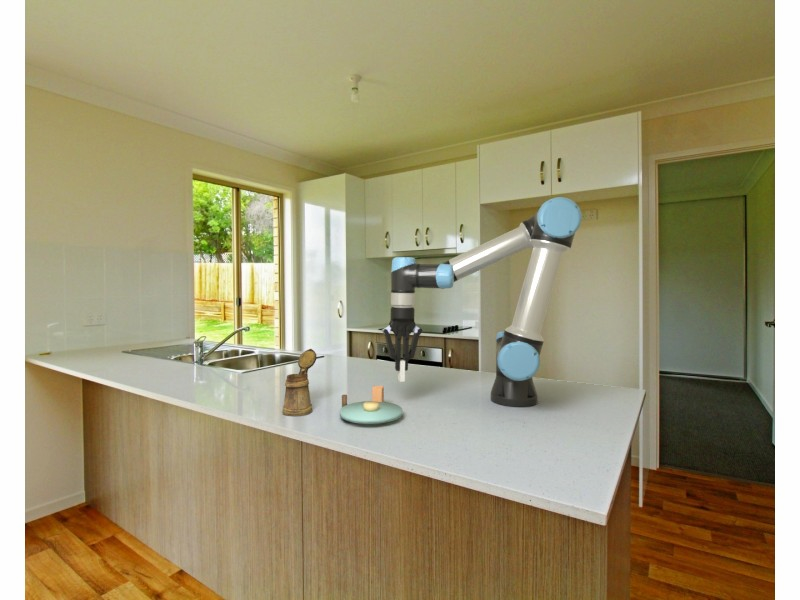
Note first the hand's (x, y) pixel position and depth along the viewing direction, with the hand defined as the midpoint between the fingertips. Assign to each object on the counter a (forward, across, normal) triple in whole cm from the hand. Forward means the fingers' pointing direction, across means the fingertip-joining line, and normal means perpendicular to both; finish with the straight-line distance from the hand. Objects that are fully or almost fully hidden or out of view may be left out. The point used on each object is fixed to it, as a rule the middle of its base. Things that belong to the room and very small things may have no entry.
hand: (401, 380), depth 138 cm
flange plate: (+7, +11, +8) cm, 15 cm away
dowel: (+8, +18, +1) cm, 20 cm away
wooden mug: (+9, +31, -4) cm, 32 cm away
